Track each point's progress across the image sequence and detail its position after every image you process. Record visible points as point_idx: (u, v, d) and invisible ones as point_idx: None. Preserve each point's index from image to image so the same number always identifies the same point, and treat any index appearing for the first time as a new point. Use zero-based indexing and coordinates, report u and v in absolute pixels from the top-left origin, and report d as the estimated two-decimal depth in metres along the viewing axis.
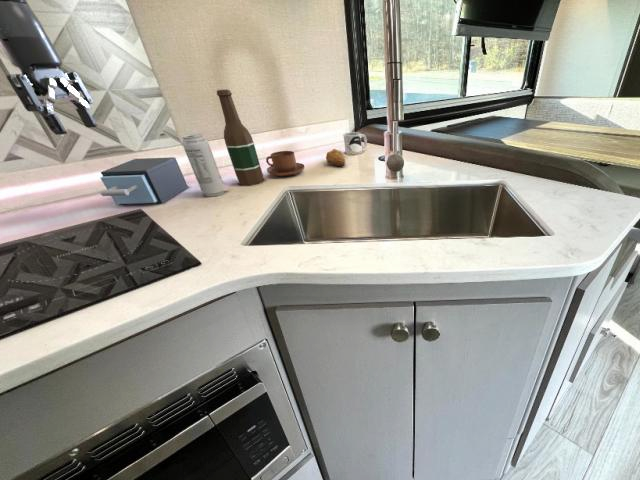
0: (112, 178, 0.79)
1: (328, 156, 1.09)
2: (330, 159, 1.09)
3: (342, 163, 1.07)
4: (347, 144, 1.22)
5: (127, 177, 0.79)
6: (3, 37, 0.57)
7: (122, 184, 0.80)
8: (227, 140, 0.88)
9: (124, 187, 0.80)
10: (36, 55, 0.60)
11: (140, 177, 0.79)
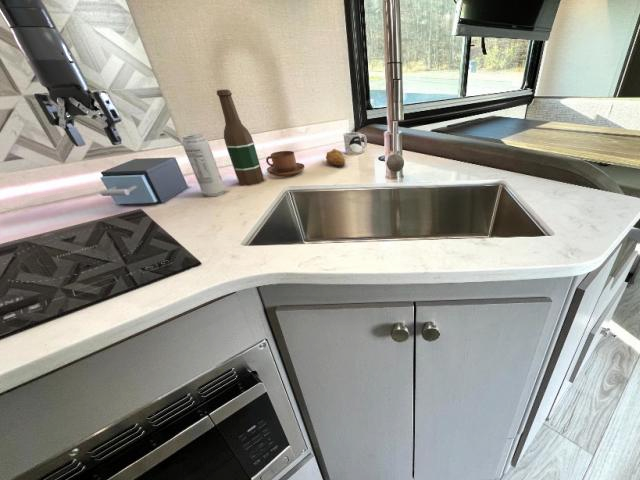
0: (112, 178, 0.79)
1: (328, 156, 1.09)
2: (330, 159, 1.09)
3: (342, 163, 1.07)
4: (347, 144, 1.22)
5: (127, 177, 0.79)
6: (69, 59, 0.64)
7: (122, 184, 0.80)
8: (227, 140, 0.88)
9: (124, 187, 0.80)
10: None
11: (140, 177, 0.79)
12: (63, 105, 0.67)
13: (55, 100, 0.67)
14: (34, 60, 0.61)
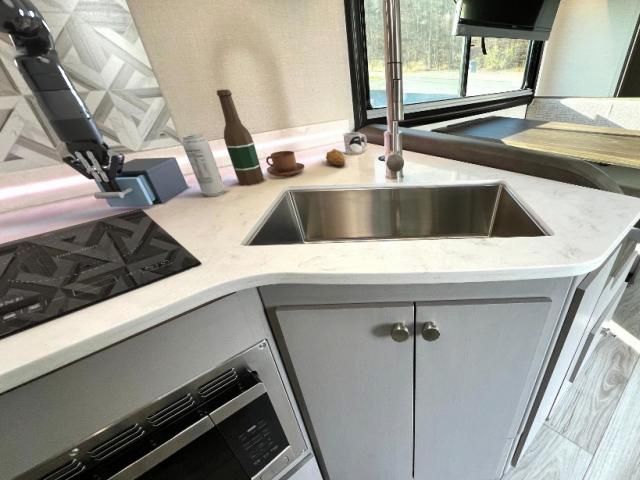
0: None
1: (328, 156, 1.09)
2: (330, 159, 1.09)
3: (342, 163, 1.07)
4: (347, 144, 1.22)
5: (122, 179, 0.77)
6: (87, 117, 0.67)
7: None
8: (227, 140, 0.88)
9: None
10: None
11: (135, 179, 0.77)
12: (82, 157, 0.70)
13: (72, 153, 0.70)
14: (54, 120, 0.64)
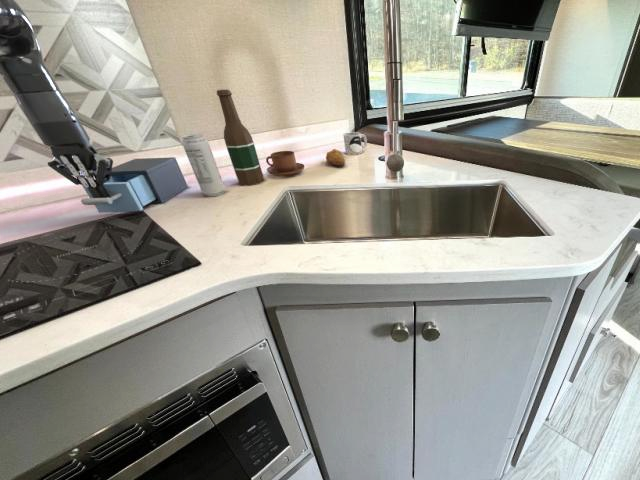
0: None
1: (328, 156, 1.09)
2: (330, 159, 1.09)
3: (342, 163, 1.07)
4: (347, 144, 1.22)
5: (111, 184, 0.74)
6: (72, 120, 0.64)
7: None
8: (227, 140, 0.88)
9: None
10: None
11: (124, 184, 0.74)
12: (68, 161, 0.67)
13: (58, 157, 0.67)
14: (37, 123, 0.61)
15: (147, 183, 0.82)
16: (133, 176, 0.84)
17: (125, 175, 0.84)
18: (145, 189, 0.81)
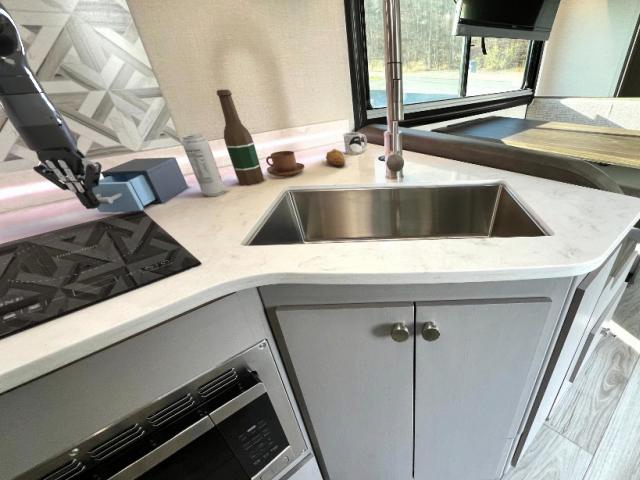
0: None
1: (328, 156, 1.09)
2: (330, 159, 1.09)
3: (342, 163, 1.07)
4: (347, 144, 1.22)
5: (111, 184, 0.74)
6: (58, 123, 0.61)
7: (106, 191, 0.75)
8: (227, 140, 0.88)
9: (108, 195, 0.76)
10: None
11: (125, 184, 0.74)
12: (54, 166, 0.64)
13: (44, 162, 0.65)
14: (21, 126, 0.58)
15: (147, 183, 0.82)
16: (133, 176, 0.85)
17: (125, 175, 0.84)
18: (145, 189, 0.81)
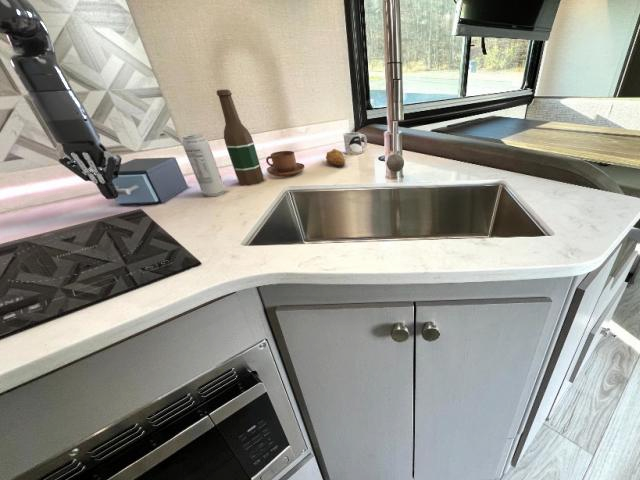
0: None
1: (328, 156, 1.09)
2: (330, 159, 1.09)
3: (342, 163, 1.07)
4: (347, 144, 1.22)
5: (128, 176, 0.79)
6: (83, 118, 0.66)
7: (123, 183, 0.80)
8: (227, 140, 0.88)
9: (125, 186, 0.81)
10: (96, 130, 0.70)
11: (141, 176, 0.79)
12: (78, 158, 0.69)
13: (69, 154, 0.70)
14: (50, 121, 0.63)
15: None
16: None
17: None
18: None
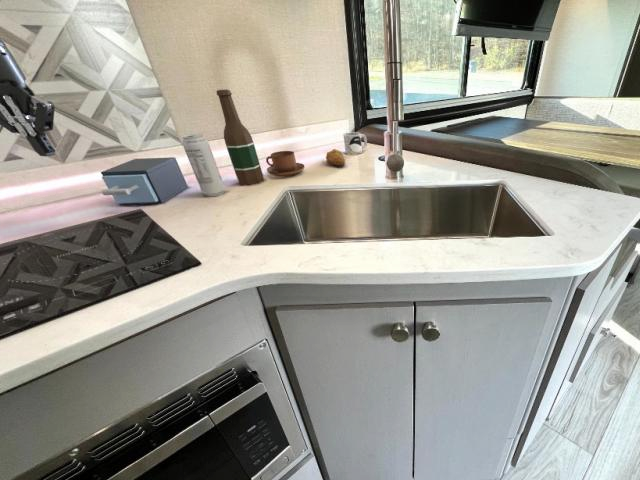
0: (113, 177, 0.79)
1: (328, 156, 1.09)
2: (330, 159, 1.09)
3: (342, 163, 1.07)
4: (347, 144, 1.22)
5: (128, 176, 0.79)
6: (1, 51, 0.55)
7: (123, 183, 0.80)
8: (227, 140, 0.88)
9: (125, 186, 0.81)
10: (21, 70, 0.59)
11: (141, 176, 0.79)
12: None
13: None
14: None
15: None
16: None
17: None
18: None
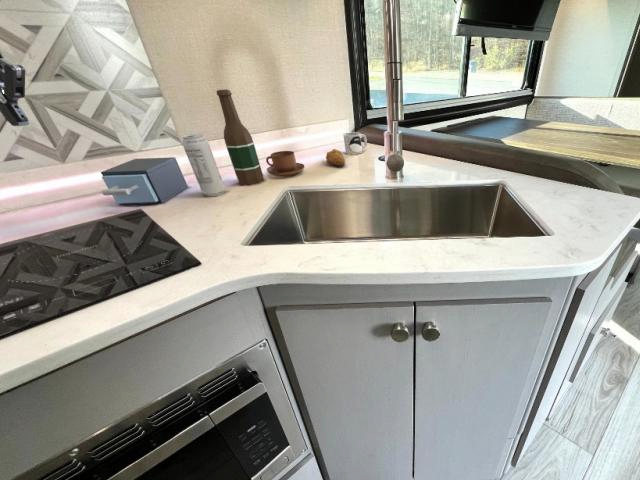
0: (113, 177, 0.79)
1: (328, 156, 1.09)
2: (330, 159, 1.09)
3: (342, 163, 1.07)
4: (347, 144, 1.22)
5: (128, 176, 0.79)
6: None
7: (123, 183, 0.80)
8: (227, 140, 0.88)
9: (125, 186, 0.81)
10: None
11: (141, 176, 0.79)
12: None
13: None
14: None
15: None
16: None
17: None
18: None
